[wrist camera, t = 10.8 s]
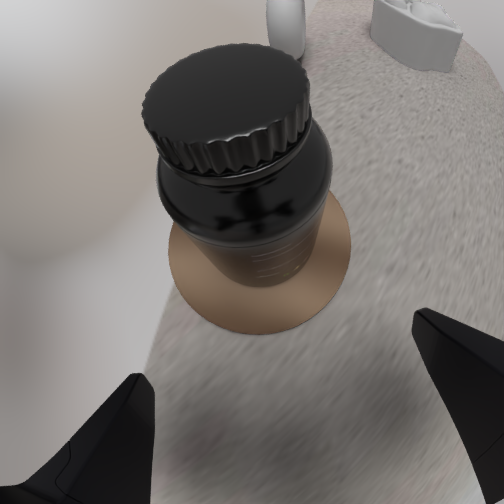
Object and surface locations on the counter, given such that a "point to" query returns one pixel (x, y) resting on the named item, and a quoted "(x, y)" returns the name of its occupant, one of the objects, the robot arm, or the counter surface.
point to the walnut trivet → (264, 298)
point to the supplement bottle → (241, 159)
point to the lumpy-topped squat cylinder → (416, 33)
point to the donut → (286, 26)
